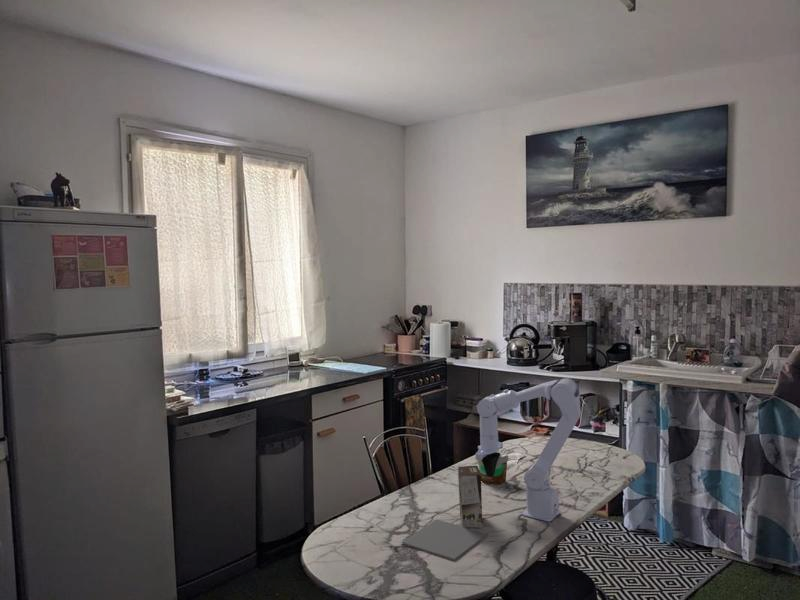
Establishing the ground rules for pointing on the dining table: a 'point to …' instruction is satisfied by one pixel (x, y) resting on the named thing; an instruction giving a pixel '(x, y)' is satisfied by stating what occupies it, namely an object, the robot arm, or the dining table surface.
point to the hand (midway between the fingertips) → (490, 475)
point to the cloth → (513, 456)
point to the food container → (499, 471)
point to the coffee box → (470, 496)
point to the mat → (445, 539)
